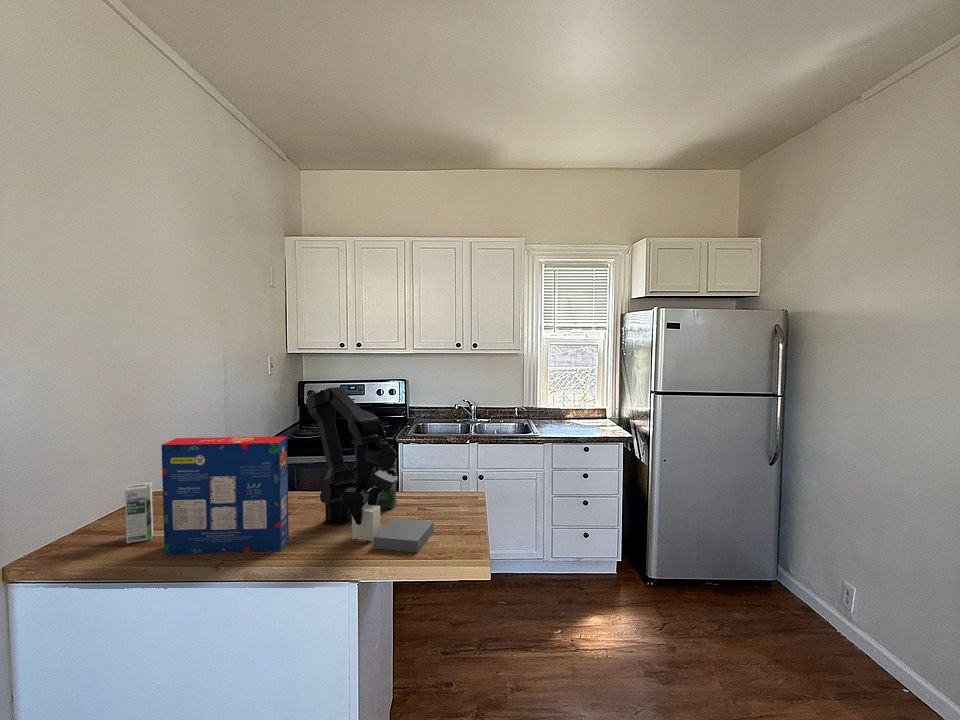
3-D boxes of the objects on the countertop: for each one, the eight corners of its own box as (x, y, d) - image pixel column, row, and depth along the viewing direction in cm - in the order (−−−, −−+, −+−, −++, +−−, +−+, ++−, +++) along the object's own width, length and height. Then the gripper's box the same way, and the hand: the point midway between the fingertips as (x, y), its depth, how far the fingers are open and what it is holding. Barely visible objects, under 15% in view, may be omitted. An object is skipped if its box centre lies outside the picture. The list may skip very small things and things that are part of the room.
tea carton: (352, 539, 142) (352, 510, 142) (360, 532, 147) (359, 504, 147) (373, 541, 141) (373, 511, 140) (380, 534, 146) (380, 505, 145)
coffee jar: (393, 510, 165) (393, 452, 164) (368, 510, 165) (368, 452, 164) (398, 500, 174) (398, 445, 173) (374, 500, 174) (374, 445, 173)
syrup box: (126, 544, 138) (124, 489, 137) (129, 536, 143) (127, 483, 142) (151, 540, 141) (150, 486, 140) (153, 532, 146) (152, 481, 145)
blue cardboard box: (288, 538, 142) (287, 436, 141) (280, 551, 134) (278, 442, 133) (179, 542, 139) (176, 438, 138) (164, 555, 131) (161, 444, 130)
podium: (373, 548, 136) (373, 537, 136) (393, 528, 150) (393, 518, 150) (417, 552, 134) (417, 541, 134) (433, 532, 147) (433, 521, 147)
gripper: (380, 473, 132) (380, 534, 133) (405, 455, 150) (405, 509, 151) (339, 470, 134) (339, 530, 135) (369, 453, 153) (369, 506, 154)
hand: (366, 518), depth 144 cm, fingers open, 9 cm apart
